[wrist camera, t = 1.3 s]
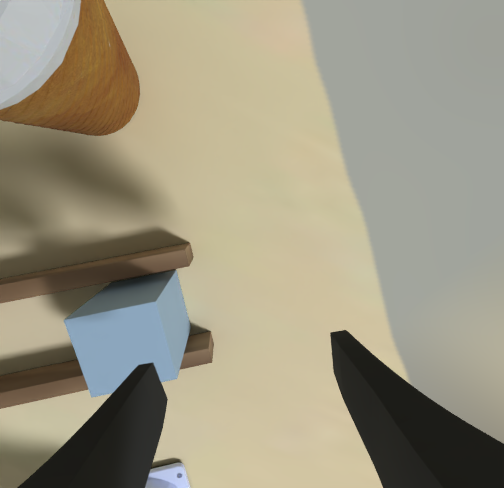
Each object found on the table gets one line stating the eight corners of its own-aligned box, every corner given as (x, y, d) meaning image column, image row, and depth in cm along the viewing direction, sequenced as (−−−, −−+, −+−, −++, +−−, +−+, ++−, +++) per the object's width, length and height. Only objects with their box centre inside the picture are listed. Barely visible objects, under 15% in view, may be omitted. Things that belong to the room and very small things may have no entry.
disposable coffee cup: (50, -33, 16) (-434, -649, 4) (189, 63, 18) (117, -188, 6) (-11, 109, 17) (-527, -70, 5) (125, 186, 19) (-42, 178, 7)
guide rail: (213, 344, 22) (210, 377, 18) (-106, 412, 20) (-184, 464, 17) (190, 242, 20) (181, 255, 16) (-162, 310, 19) (-265, 341, 15)
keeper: (190, 327, 21) (177, 378, 16) (129, 340, 21) (91, 397, 15) (176, 269, 20) (155, 301, 14) (111, 282, 20) (63, 320, 14)
